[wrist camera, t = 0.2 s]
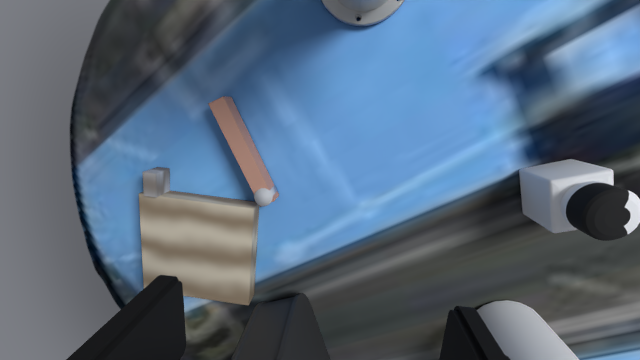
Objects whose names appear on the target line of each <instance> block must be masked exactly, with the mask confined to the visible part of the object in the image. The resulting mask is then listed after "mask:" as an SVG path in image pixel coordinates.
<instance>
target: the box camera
mask: <svg viewBox="0 0 640 360" xmlns="http://www.w3.org/2000/svg"><path fill="white" fill-rule="evenodd" d="M519 177H520V188H521V200H522V211H523V214H524V215H526V216H527V217H529V218H530V219H532V220H534V221H535V222H537V223H538V224H540V225H541V226H543V227H545V228H546V229H548V230H549V231H551V232H553V233H559V232H565V231H571V230H577V229H578V230H580V231H582V232H584V233H586V234H587V235H589V236H591V237H593V238H595V239H598V240H605V241H607V240H615V239H618V238H621V237H624V236H626V235H628V234H629V233H631V232H632V231H633V230H634V229H635V228H636V227H637V226H638V224H639V223H640V199H639V198H638V197H637V196H636V195H635V194H634V193H633V192H631V191H628V190H625V189H622V188H619V187H616V186H613V170H611V169H608V168H604V167H601V166H597V165H593V164H589V163H585V162H581V161H577V160H573V159H568V160H563V161H558V162H553V163H548V164H543V165H538V166H533V167H528V168H523V169H520V170H519Z"/></svg>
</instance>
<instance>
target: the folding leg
mask: <svg viewBox="0 0 640 360" xmlns="http://www.w3.org/2000/svg"><path fill="white" fill-rule="evenodd" d="M209 106H210V108H211V110H212V112H213V114H214V116H215V118H216V120H217V122H218V124H219V126H220V128H221V130H222V132H223V134H224V136H225V138H226V140H227V142H228V144H229V146H230V148H231V150H232V152H233V154H234V156H235V158H236V160H237V162H238V164H239V166H240V168H241V170H242V172H243V174H244V176H245V177H246V179H247V181H248V183H249V185H250V187H251V189H252V191H253V193H254V199H255V202H256V203H257V204H258V205H260V207H261V206H267V205H269V204H270V203H271V202H273V201H275V200H276V198H277V197H278V196H279V194H278V192H277V188H276V187H275V185H274V184H273V181H272V179H271V177H270V175H269V173H268V171H267V169H266V167H265V165H264V163H263V161H262V159H261V157H260V155H259V153H258V151H257V149H256V147H255V145H254V143H253V140H252V138H251V136H250V134H249V132H248V130H247V128H246V126H245V124H244V122H243V120H242V118H241V116H240V114H239V112H238V110H237V108H236V106H235V104H234V102H233V99H232V97H225V96H223V97H221V98H219V99H217V100H215V101H213V102H211V103H209Z"/></svg>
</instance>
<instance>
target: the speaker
mask: <svg viewBox="0 0 640 360" xmlns="http://www.w3.org/2000/svg"><path fill="white" fill-rule="evenodd" d="M231 360H330V357H329V355H328V352H327V349H326V346H325V343H324V340H323V338H322V335H321V332H320V329H319V326H318V324H317V321H316V318H315V315H314V312H313V310H312V307H311V304H310V302H309V300H308V298H307V297H306V295H305V294H303V293H300V294H297V295H295V297H291V298H287V299H282V300H277V301H273V302H265V301H264V302H260V303H258V304H257V305H256V306H255V308H254V310H253V312H252V314H251V316H250V318H249V321H248V323H247V325H246V327H245V329H244V332H243V334H242V336H241V338H240V341H239V343H238V345H237V347H236V349H235V352H234V354H233V356H232V358H231Z"/></svg>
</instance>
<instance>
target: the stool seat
mask: <svg viewBox="0 0 640 360" xmlns="http://www.w3.org/2000/svg"><path fill="white" fill-rule="evenodd" d="M143 190H144V192H141V193H139V207H140V226H141V245H142V264H143V283H144V288H145V287H146V286H148V285H149V284H150V283H151V282H152V281H153V280H154V279H155V278H156V277H157V276H159V275H167V276H176V277H177V278H178V280H179V281H181V282H182V285H183V296H189V297H195V298H202V299H209V300H216V301H222V302H229V303H236V304H242V305H249V304H250V302H251V300H252V298H253V296H254V288H255V270H256V252H257V234H258V217H259V205H258V204H257V203H256V202H253V201H246V200H238V199H230V198H223V197H215V196H207V195H199V194H192V193H184V192H176V191H170V171H169V168H161V167H156V168H153V169H150V170H147V171H144V172H143Z"/></svg>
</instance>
